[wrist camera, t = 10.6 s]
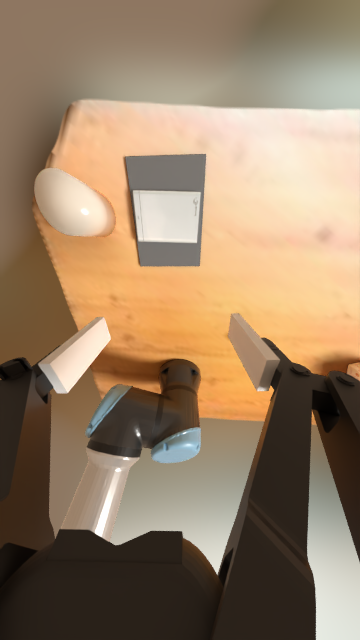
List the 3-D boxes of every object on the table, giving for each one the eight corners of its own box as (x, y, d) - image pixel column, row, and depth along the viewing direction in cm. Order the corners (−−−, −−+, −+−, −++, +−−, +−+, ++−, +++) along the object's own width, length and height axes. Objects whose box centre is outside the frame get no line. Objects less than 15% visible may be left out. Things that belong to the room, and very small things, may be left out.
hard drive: (201, 191, 25) (132, 189, 25) (197, 243, 29) (137, 241, 29) (200, 193, 26) (135, 192, 26) (196, 243, 30) (139, 241, 30)
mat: (199, 265, 33) (199, 266, 32) (141, 265, 33) (140, 266, 33) (205, 156, 24) (206, 154, 24) (126, 158, 25) (125, 156, 24)
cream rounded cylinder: (119, 237, 31) (97, 235, 23) (84, 237, 31) (49, 236, 23) (110, 189, 27) (79, 167, 19) (69, 189, 27) (23, 168, 19)
